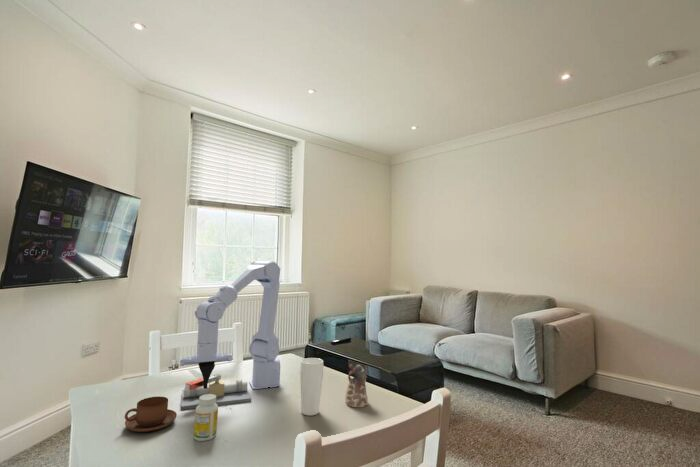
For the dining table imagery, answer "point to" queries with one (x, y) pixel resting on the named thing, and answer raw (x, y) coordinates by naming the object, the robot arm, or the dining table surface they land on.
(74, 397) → the dining table surface
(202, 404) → the supplement bottle
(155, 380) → the dining table surface
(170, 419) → the cup and saucer
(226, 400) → the valve board
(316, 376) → the drinking glass
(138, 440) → the dining table surface
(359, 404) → the figurine
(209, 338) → the robot arm
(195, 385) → the valve lever
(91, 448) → the dining table surface
